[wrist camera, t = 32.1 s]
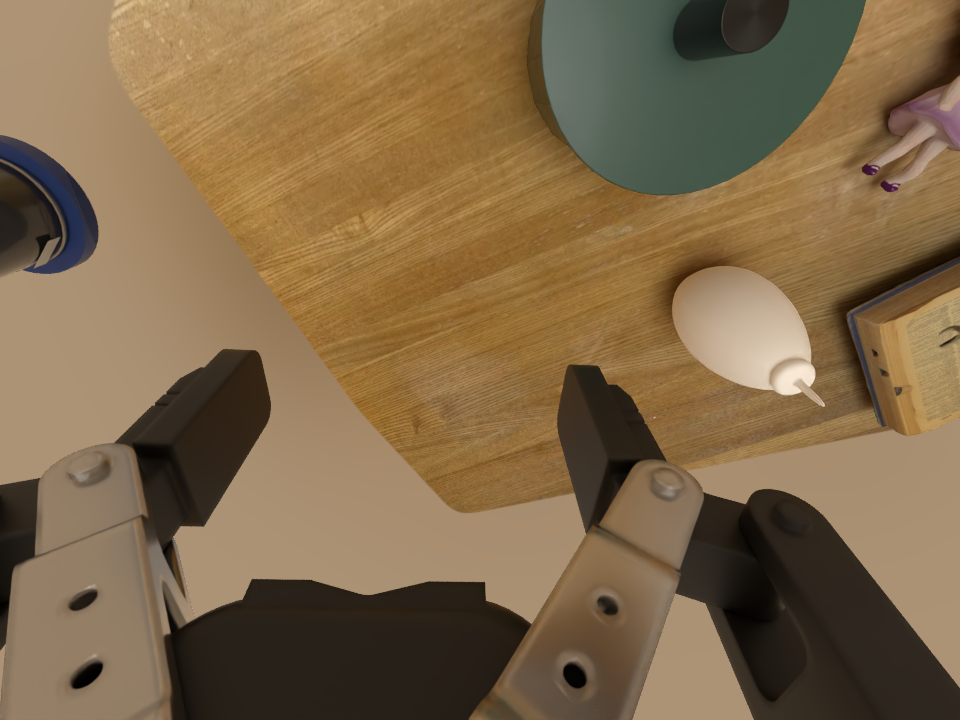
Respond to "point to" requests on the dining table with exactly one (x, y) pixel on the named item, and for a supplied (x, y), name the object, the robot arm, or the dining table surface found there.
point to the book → (912, 350)
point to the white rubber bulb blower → (744, 330)
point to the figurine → (921, 132)
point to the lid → (687, 82)
